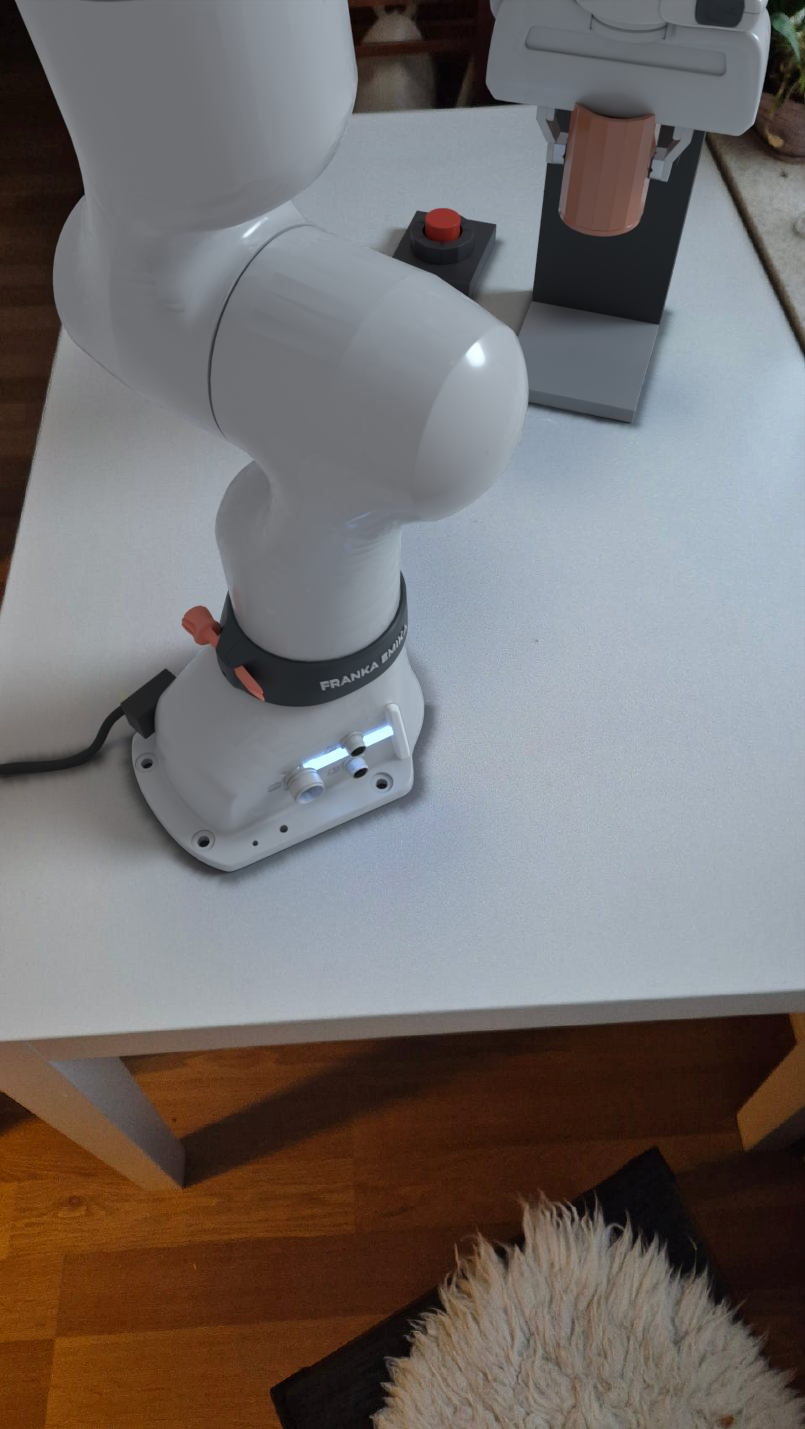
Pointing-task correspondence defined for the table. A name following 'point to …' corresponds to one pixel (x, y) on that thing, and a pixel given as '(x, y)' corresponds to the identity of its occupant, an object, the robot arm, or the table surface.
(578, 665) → the table surface
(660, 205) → the coffee maker
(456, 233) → the button
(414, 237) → the control block
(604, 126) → the cup
